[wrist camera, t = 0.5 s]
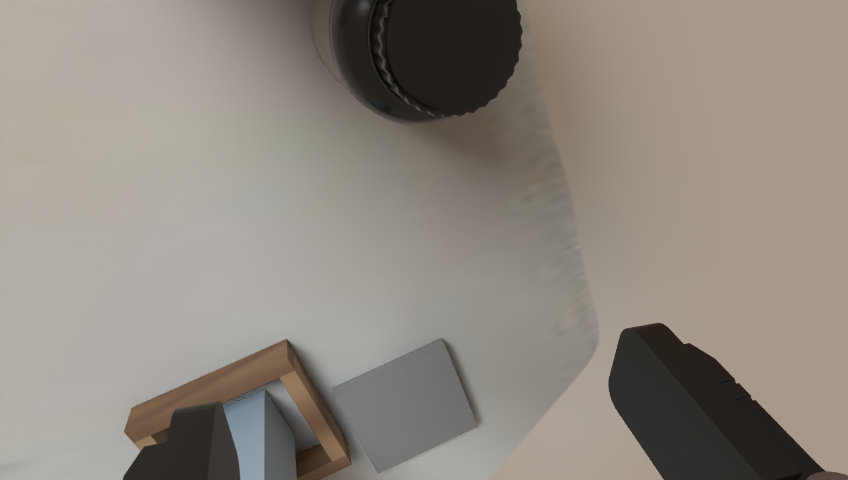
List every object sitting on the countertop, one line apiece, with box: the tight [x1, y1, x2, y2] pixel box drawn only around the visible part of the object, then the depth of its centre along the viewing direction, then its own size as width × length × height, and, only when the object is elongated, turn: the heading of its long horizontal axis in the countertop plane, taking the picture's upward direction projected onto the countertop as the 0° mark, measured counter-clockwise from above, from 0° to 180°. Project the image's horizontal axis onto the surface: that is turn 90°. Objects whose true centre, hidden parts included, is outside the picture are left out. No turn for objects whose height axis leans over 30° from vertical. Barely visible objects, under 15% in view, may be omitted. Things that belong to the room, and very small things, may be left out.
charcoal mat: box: [333, 338, 478, 473], centre depth 37 cm, size 8×8×1 cm
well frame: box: [124, 340, 351, 480], centre depth 34 cm, size 10×10×2 cm
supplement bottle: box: [311, 0, 523, 125], centre depth 22 cm, size 7×7×12 cm
